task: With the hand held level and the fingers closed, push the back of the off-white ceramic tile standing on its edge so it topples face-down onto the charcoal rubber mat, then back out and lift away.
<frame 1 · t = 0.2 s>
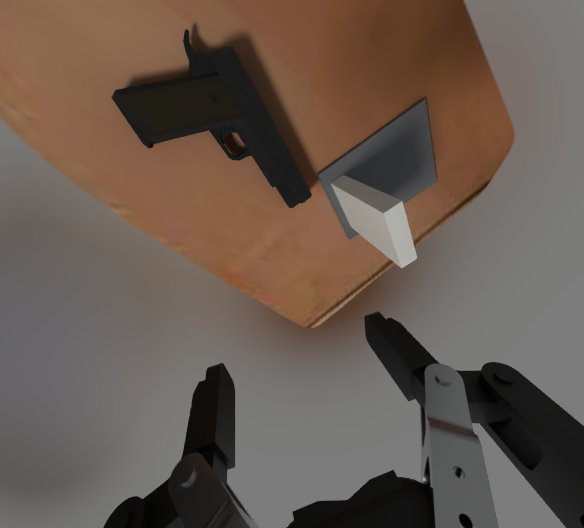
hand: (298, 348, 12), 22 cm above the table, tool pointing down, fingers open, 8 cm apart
tile: (347, 202, 33), point 1 cm above the table, touching mat
mat: (380, 177, 32), on the table
handgun: (227, 154, 26), on the table
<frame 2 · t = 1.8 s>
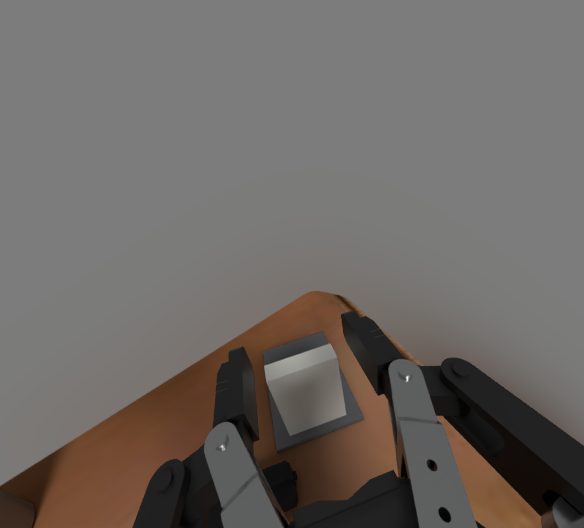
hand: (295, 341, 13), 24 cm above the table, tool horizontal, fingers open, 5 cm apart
tile: (316, 417, 30), point 1 cm above the table, touching mat
mat: (305, 380, 36), on the table
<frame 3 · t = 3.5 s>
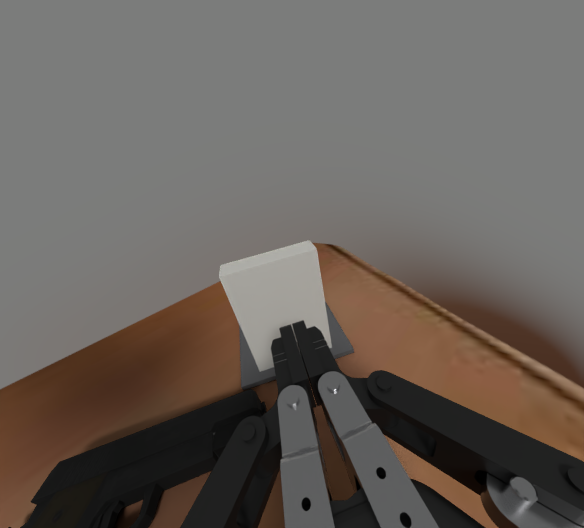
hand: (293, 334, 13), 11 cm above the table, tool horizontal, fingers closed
tile: (294, 351, 24), point 1 cm above the table, touching mat
mat: (284, 319, 30), on the table
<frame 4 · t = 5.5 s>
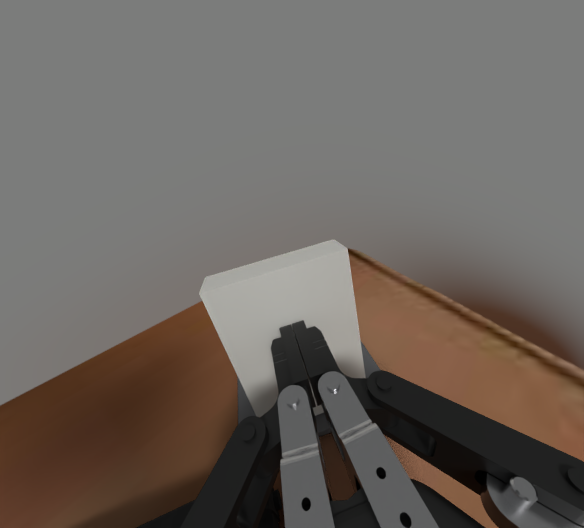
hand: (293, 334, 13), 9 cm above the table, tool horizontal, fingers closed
tile: (313, 402, 17), point 1 cm above the table, tilted 6°, touching gripper, mat
mat: (296, 348, 23), on the table
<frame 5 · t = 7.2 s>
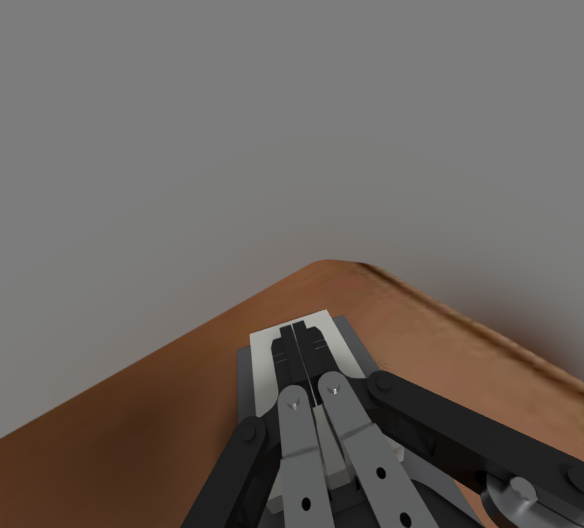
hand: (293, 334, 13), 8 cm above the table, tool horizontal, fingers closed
tile: (338, 479, 12), point 2 cm above the table, tilted 90°, touching mat
mat: (316, 410, 17), on the table
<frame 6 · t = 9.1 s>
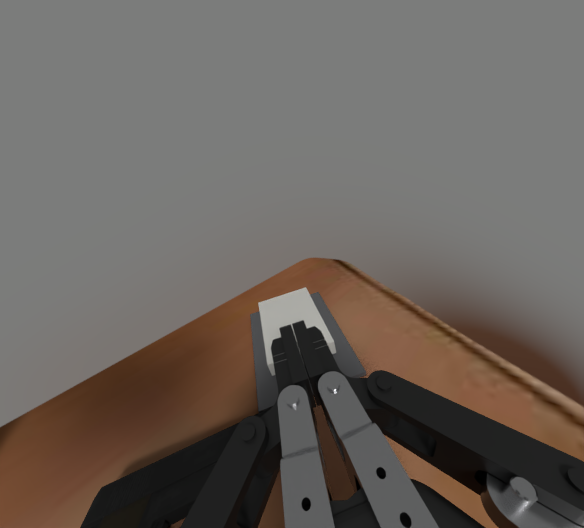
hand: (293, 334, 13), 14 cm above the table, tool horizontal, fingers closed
tile: (302, 358, 26), point 2 cm above the table, tilted 90°, touching mat
mat: (296, 339, 31), on the table
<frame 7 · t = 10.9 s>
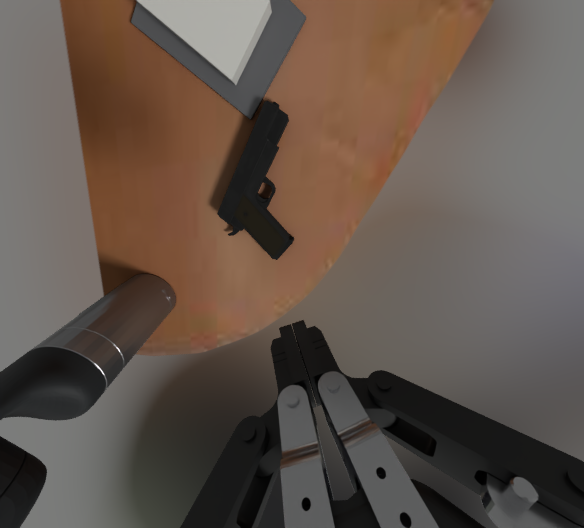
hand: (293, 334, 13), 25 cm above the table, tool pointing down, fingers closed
tile: (251, 46, 25), point 2 cm above the table, tilted 90°, touching mat
mat: (219, 22, 26), on the table
handgun: (276, 190, 34), on the table
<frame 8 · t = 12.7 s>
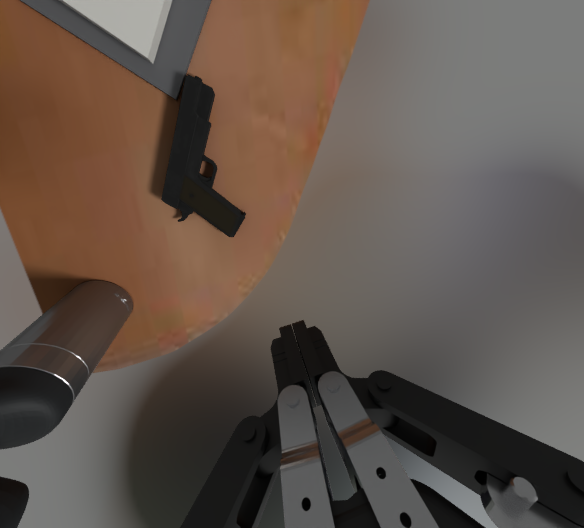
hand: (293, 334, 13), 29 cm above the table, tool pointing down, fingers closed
tile: (161, 22, 25), point 2 cm above the table, tilted 90°, touching mat
handgun: (217, 168, 35), on the table
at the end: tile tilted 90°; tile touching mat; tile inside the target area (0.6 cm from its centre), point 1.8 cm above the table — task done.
